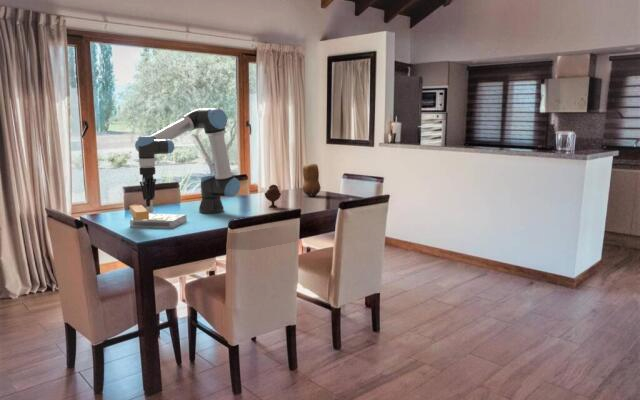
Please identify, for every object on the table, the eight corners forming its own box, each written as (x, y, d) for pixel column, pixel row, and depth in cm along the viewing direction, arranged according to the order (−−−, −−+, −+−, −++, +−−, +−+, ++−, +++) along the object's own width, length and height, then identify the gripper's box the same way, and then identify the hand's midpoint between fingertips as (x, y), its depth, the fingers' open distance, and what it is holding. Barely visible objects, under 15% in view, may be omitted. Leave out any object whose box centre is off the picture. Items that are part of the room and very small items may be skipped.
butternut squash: (306, 194, 377) (306, 162, 373) (322, 195, 373) (322, 163, 369) (300, 197, 364) (299, 163, 360) (316, 198, 360) (316, 164, 356)
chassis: (146, 220, 277) (145, 208, 276) (186, 221, 274) (186, 209, 272) (129, 227, 259) (129, 214, 258) (172, 228, 256) (172, 215, 254)
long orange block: (140, 211, 264) (140, 204, 264) (148, 219, 243) (148, 211, 242) (129, 212, 261) (128, 205, 261) (136, 220, 240) (135, 212, 239)
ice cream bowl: (262, 206, 323) (262, 184, 320) (278, 205, 326) (278, 183, 324) (266, 209, 313) (266, 186, 310) (283, 208, 317) (283, 185, 314)
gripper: (146, 165, 252) (148, 210, 256) (133, 167, 239) (136, 214, 243) (160, 165, 251) (162, 210, 255) (148, 168, 238) (150, 215, 242)
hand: (149, 212), depth 249 cm, fingers closed
